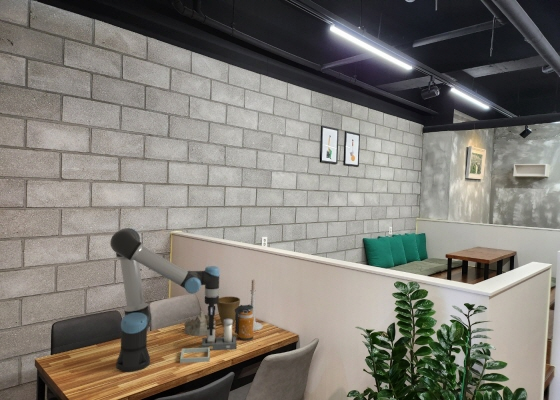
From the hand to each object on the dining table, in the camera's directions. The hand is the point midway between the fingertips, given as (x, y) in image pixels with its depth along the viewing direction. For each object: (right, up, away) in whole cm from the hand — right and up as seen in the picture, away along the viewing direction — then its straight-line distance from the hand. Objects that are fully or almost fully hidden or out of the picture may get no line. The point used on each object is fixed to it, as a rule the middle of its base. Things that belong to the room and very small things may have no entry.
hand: (210, 338), depth 203 cm
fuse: (+9, -4, +2) cm, 10 cm away
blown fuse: (0, -4, 0) cm, 4 cm away
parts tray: (-5, -5, -13) cm, 15 cm away
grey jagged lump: (-11, -5, +22) cm, 25 cm away
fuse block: (+4, -5, +1) cm, 7 cm away
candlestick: (+20, -5, +34) cm, 40 cm away
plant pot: (+4, -5, +37) cm, 38 cm away
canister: (+16, -6, +13) cm, 22 cm away
